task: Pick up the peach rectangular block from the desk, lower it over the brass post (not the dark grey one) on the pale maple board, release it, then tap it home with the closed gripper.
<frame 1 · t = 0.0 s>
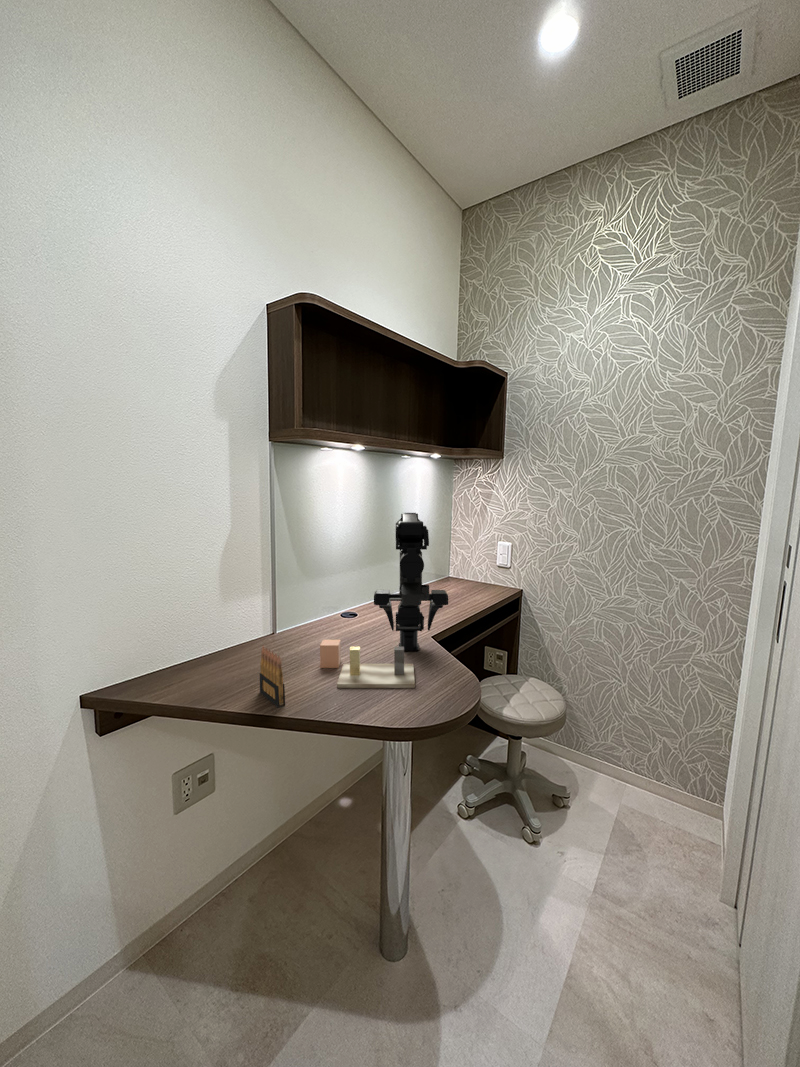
hand: (410, 630, 117), 15 cm above the table, tool pointing down, fingers open, 9 cm apart
post board: (377, 676, 124), on the table
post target: (355, 676, 124), resting on post board
peach rectangular block: (330, 664, 133), on the table
ammunition clip: (272, 699, 111), on the table
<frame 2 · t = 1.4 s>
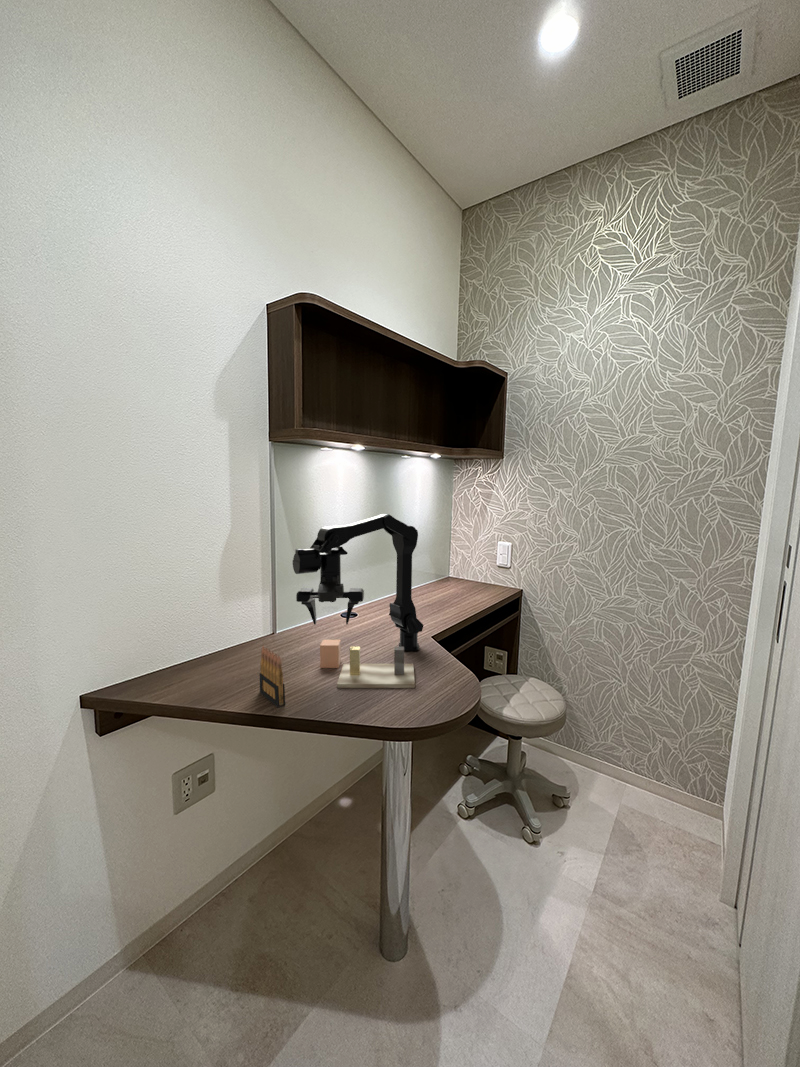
hand: (331, 624, 132), 12 cm above the table, tool pointing down, fingers open, 9 cm apart
nothing on the table moved.
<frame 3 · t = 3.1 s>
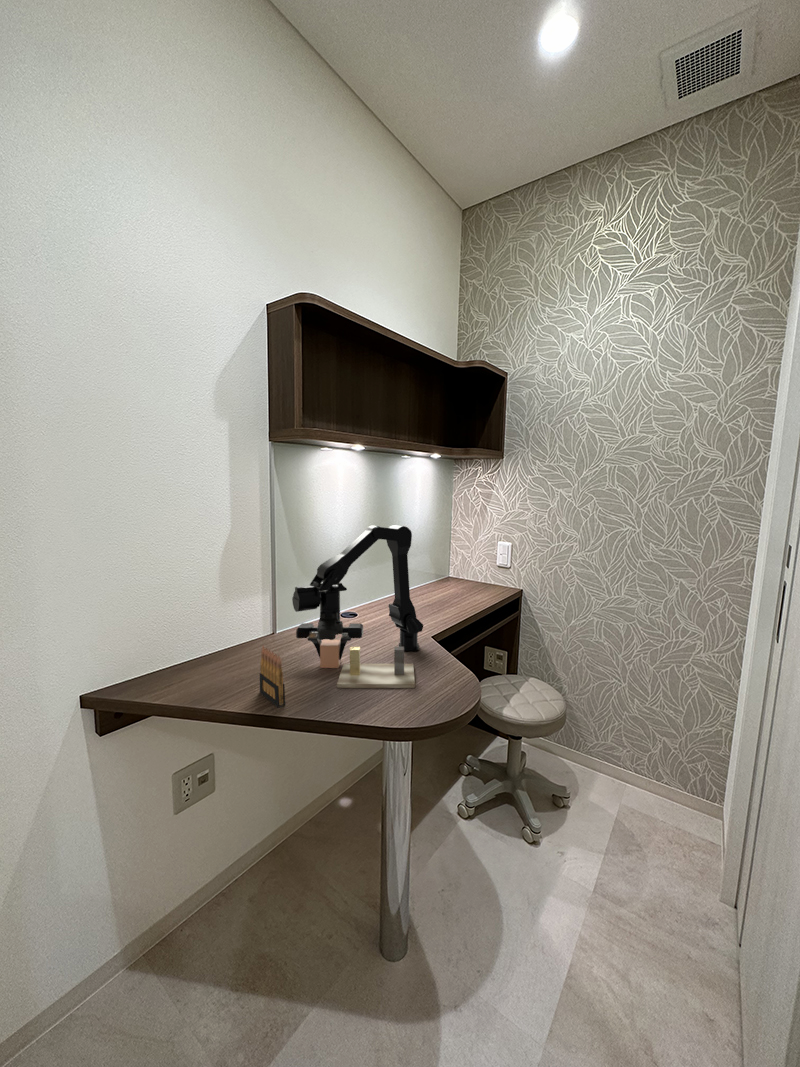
hand: (330, 659, 133), 2 cm above the table, tool pointing down, fingers closed on peach rectangular block, 5 cm apart
peach rectangular block: (330, 664, 133), on the table, touching gripper
everything else where it was.
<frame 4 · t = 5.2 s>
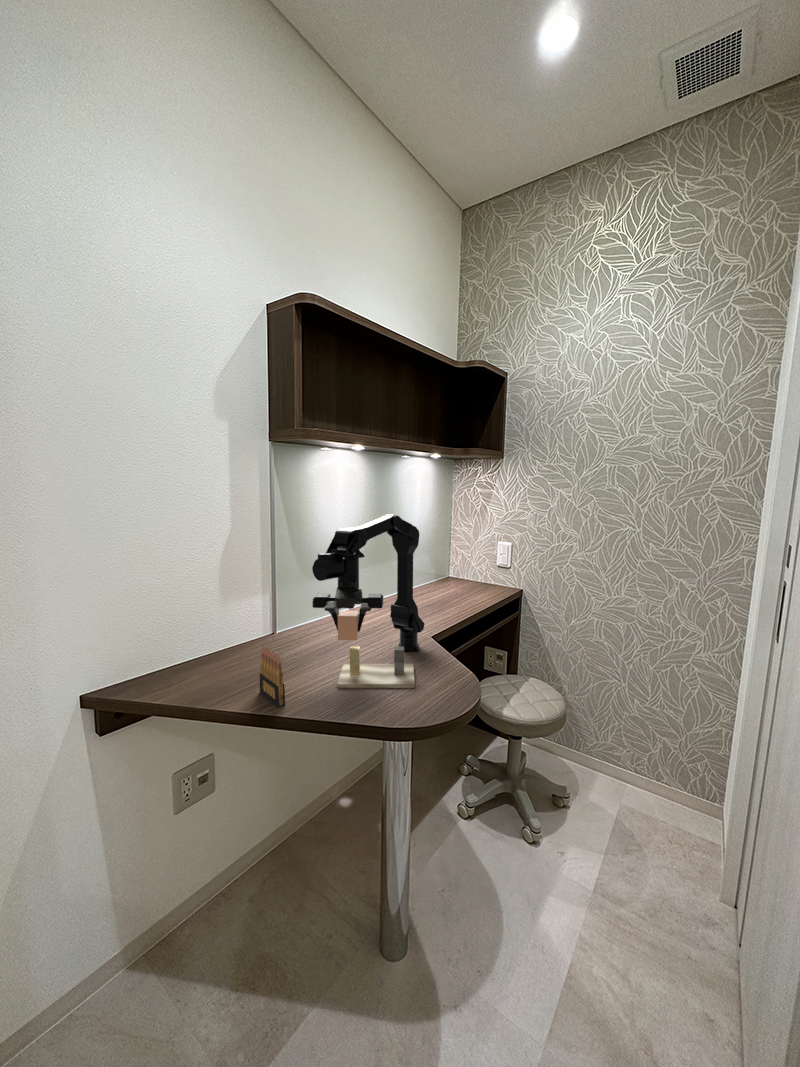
hand: (348, 631, 125), 12 cm above the table, tool pointing down, fingers closed on peach rectangular block, 5 cm apart
peach rectangular block: (348, 637, 125), point 11 cm above the table, touching gripper
everything else where it was.
when the fingers open (5 cm above the table, at t = 7.4 s): peach rectangular block drops 1 cm, resting on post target.
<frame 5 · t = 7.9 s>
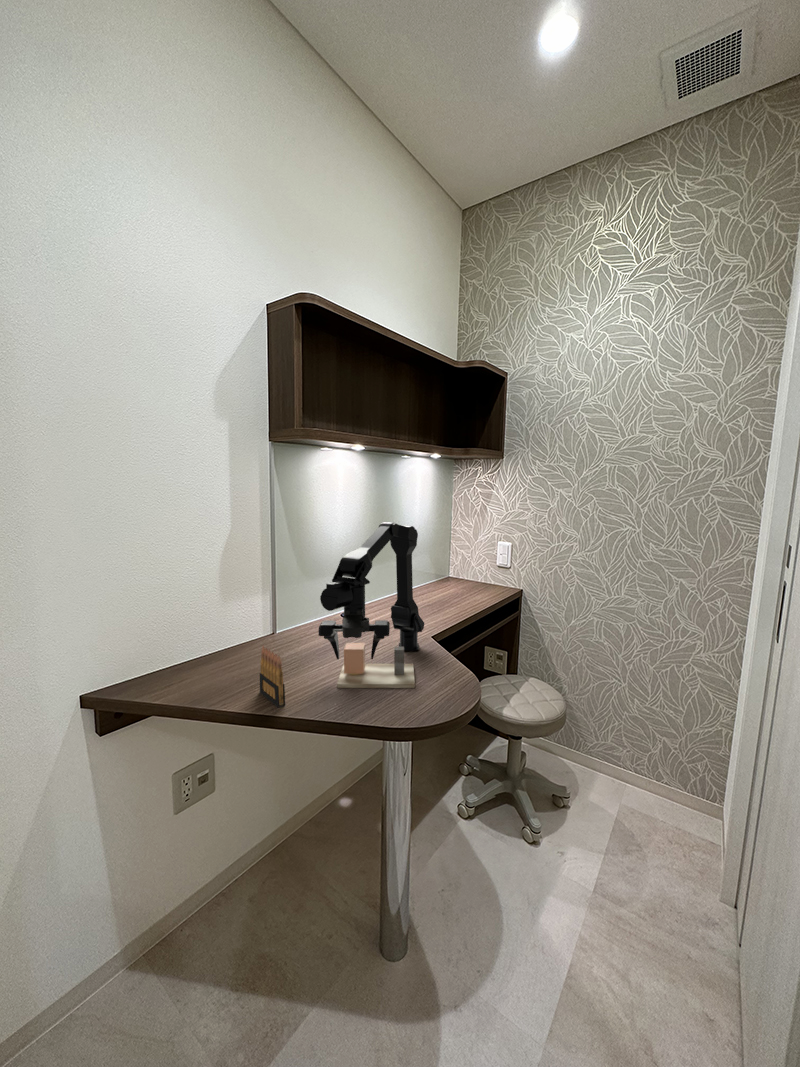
hand: (355, 659, 124), 5 cm above the table, tool pointing down, fingers open, 9 cm apart
peach rectangular block: (355, 669, 124), point 2 cm above the table, touching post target
everything else where it was.
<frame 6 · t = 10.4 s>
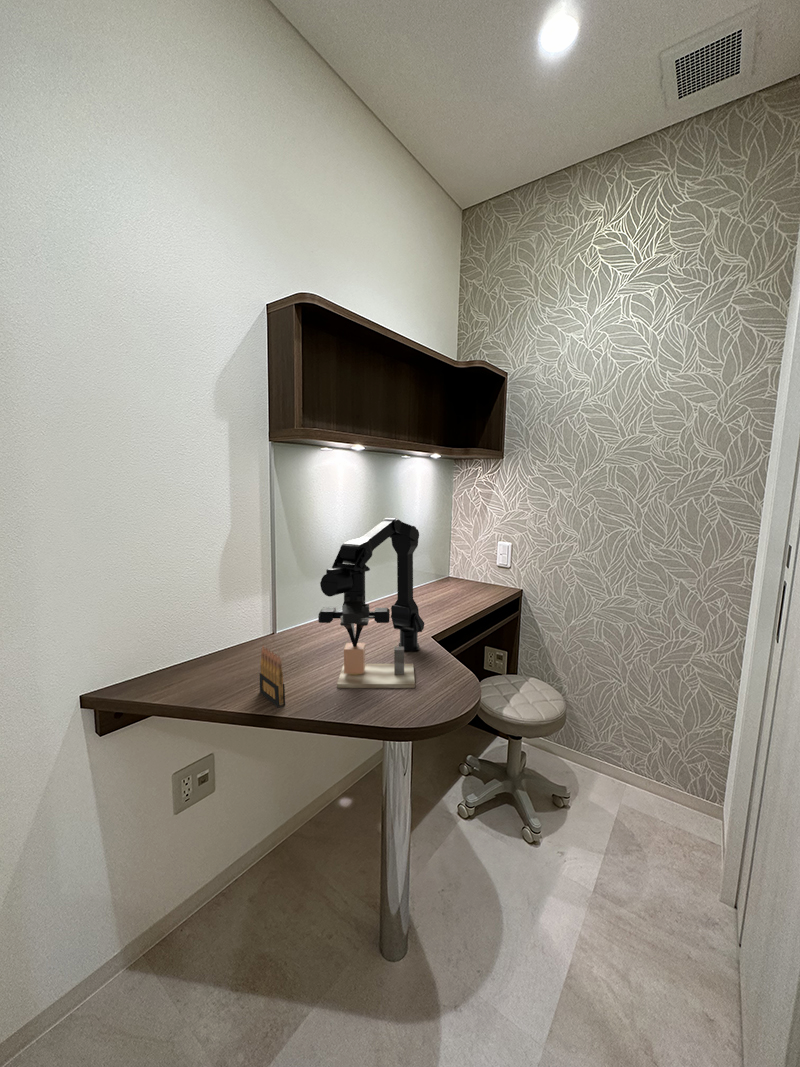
hand: (355, 646, 123), 9 cm above the table, tool pointing down, fingers closed, pressing on peach rectangular block
peach rectangular block: (355, 669, 124), point 2 cm above the table, touching gripper, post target
everything else where it was.
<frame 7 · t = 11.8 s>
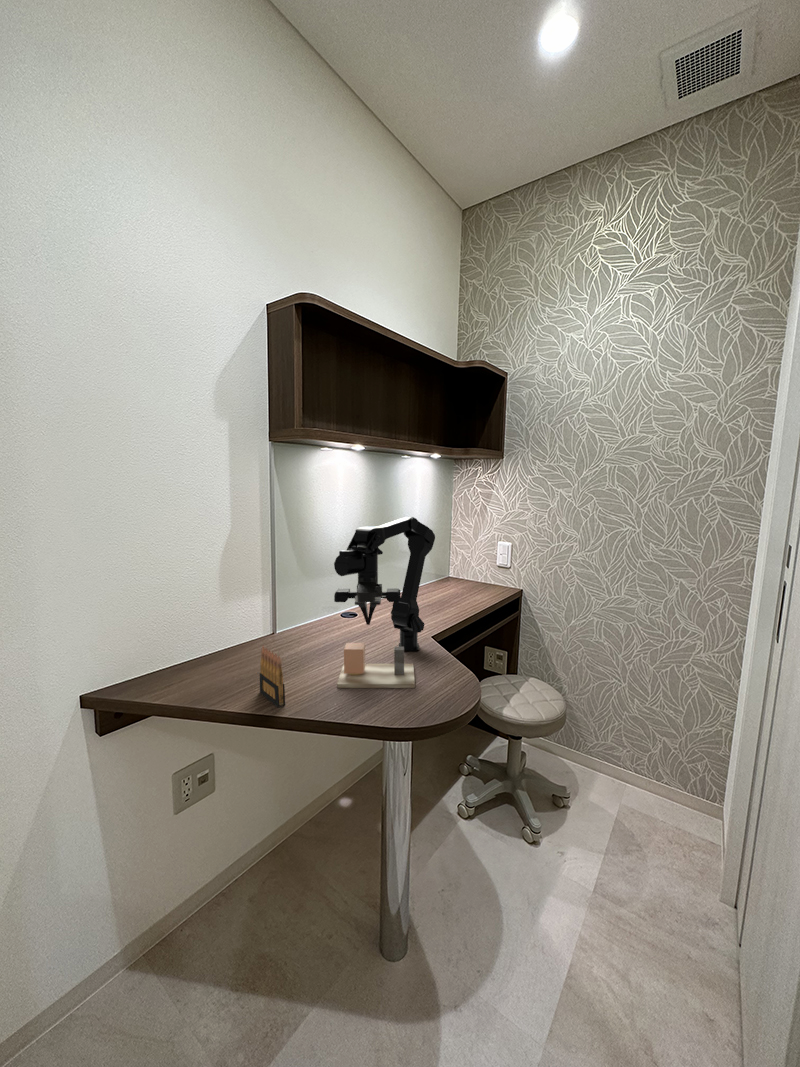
hand: (368, 624, 132), 12 cm above the table, tool pointing down, fingers closed
peach rectangular block: (355, 669, 124), point 2 cm above the table, touching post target
everything else where it was.
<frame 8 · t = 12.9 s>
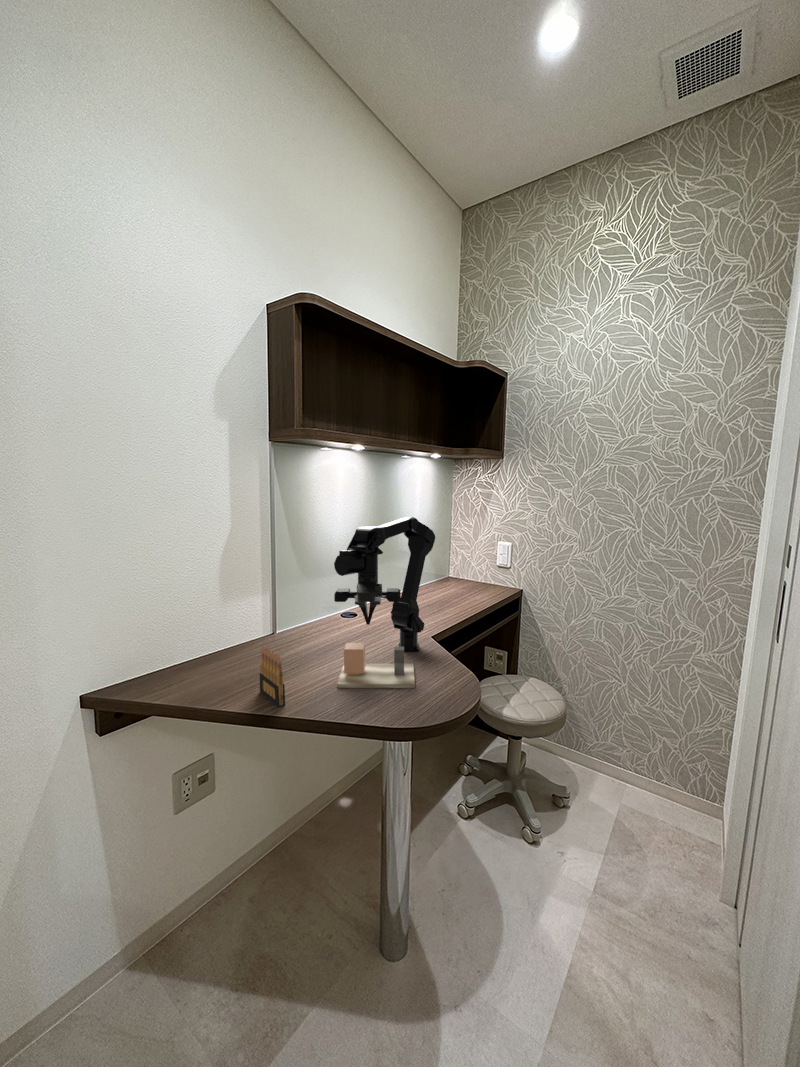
hand: (368, 624, 132), 12 cm above the table, tool pointing down, fingers closed
nothing on the table moved.
at the end: peach rectangular block 0.0 cm off-centre on the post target, point 2.0 cm above the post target's base; peach rectangular block tilted 0°; the gripper is holding nothing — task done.
